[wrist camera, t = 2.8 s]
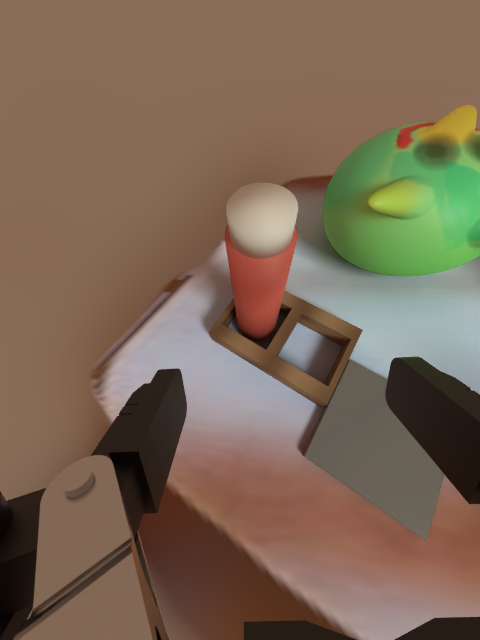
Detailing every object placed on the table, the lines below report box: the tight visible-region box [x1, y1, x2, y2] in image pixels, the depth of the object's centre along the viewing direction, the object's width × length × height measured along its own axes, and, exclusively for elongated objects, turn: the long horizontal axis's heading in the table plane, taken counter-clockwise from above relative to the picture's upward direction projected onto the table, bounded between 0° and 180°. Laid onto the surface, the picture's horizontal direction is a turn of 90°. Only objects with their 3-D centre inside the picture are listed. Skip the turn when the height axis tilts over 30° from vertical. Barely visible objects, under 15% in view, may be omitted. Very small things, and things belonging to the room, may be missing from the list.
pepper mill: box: [225, 182, 298, 342], centre depth 21 cm, size 5×5×17 cm
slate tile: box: [303, 360, 444, 541], centre depth 22 cm, size 11×11×1 cm
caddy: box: [209, 291, 362, 406], centre depth 26 cm, size 14×9×2 cm, turn 57°
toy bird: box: [322, 105, 480, 276], centre depth 25 cm, size 18×17×15 cm
